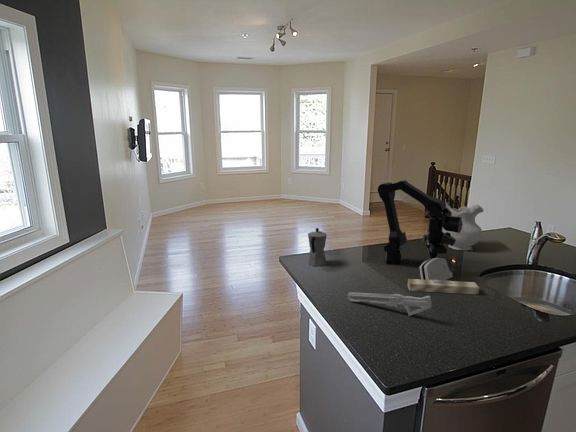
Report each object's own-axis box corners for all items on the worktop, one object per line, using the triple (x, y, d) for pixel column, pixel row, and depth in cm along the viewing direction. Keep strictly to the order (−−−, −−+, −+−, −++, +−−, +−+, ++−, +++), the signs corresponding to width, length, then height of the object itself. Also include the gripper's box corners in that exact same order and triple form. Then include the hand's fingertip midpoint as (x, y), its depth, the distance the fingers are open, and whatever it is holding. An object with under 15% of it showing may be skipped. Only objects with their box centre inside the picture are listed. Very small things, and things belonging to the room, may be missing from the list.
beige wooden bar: (409, 290, 143) (410, 283, 142) (407, 285, 148) (408, 278, 147) (478, 294, 139) (479, 286, 138) (474, 289, 143) (474, 281, 143)
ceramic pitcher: (439, 253, 188) (444, 208, 180) (433, 239, 206) (437, 198, 199) (483, 255, 184) (491, 210, 176) (473, 241, 202) (479, 199, 194)
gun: (431, 318, 119) (429, 297, 118) (349, 311, 136) (346, 292, 134) (432, 316, 121) (430, 294, 120) (351, 309, 137) (348, 290, 136)
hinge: (431, 286, 147) (426, 262, 147) (422, 286, 150) (416, 263, 151) (453, 276, 156) (448, 254, 156) (443, 276, 160) (438, 255, 160)
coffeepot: (311, 257, 181) (311, 224, 177) (329, 259, 178) (329, 225, 174) (302, 268, 167) (302, 232, 163) (321, 271, 164) (322, 234, 160)
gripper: (461, 235, 146) (457, 270, 149) (448, 223, 163) (445, 255, 167) (433, 234, 147) (430, 269, 151) (423, 223, 165) (421, 254, 169)
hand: (432, 261), depth 159 cm, fingers closed
